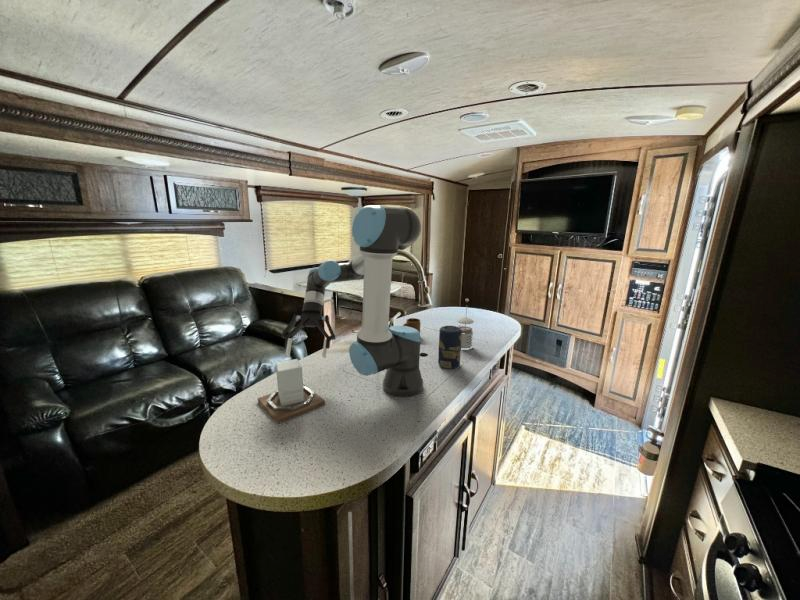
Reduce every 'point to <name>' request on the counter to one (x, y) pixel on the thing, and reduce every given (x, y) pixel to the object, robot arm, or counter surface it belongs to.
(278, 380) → the supplement box
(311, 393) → the metal ring
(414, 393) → the robot arm
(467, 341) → the french press
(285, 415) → the walnut board
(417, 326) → the mug
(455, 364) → the canister
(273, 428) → the counter surface
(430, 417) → the counter surface
